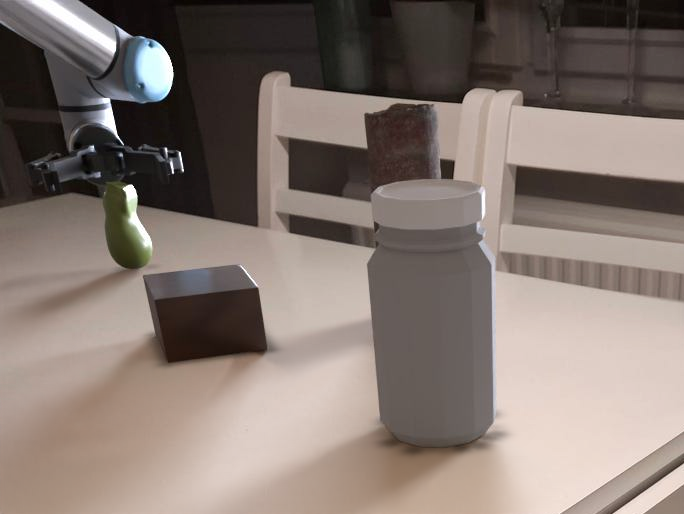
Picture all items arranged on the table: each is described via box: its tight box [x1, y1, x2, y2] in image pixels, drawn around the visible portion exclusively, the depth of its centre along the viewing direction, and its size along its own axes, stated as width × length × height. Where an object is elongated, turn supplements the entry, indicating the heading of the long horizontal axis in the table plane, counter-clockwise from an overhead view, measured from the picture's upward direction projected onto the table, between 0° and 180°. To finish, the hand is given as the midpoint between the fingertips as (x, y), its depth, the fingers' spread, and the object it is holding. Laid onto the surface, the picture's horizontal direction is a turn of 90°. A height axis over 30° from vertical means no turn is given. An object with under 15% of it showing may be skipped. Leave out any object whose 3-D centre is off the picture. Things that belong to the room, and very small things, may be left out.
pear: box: [102, 180, 153, 270], centre depth 126 cm, size 6×5×10 cm
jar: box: [366, 178, 498, 448], centre depth 79 cm, size 10×10×18 cm
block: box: [142, 263, 268, 364], centre depth 102 cm, size 10×10×6 cm
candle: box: [363, 102, 442, 249], centre depth 103 cm, size 8×7×20 cm
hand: (111, 177), depth 130 cm, fingers open, 13 cm apart
